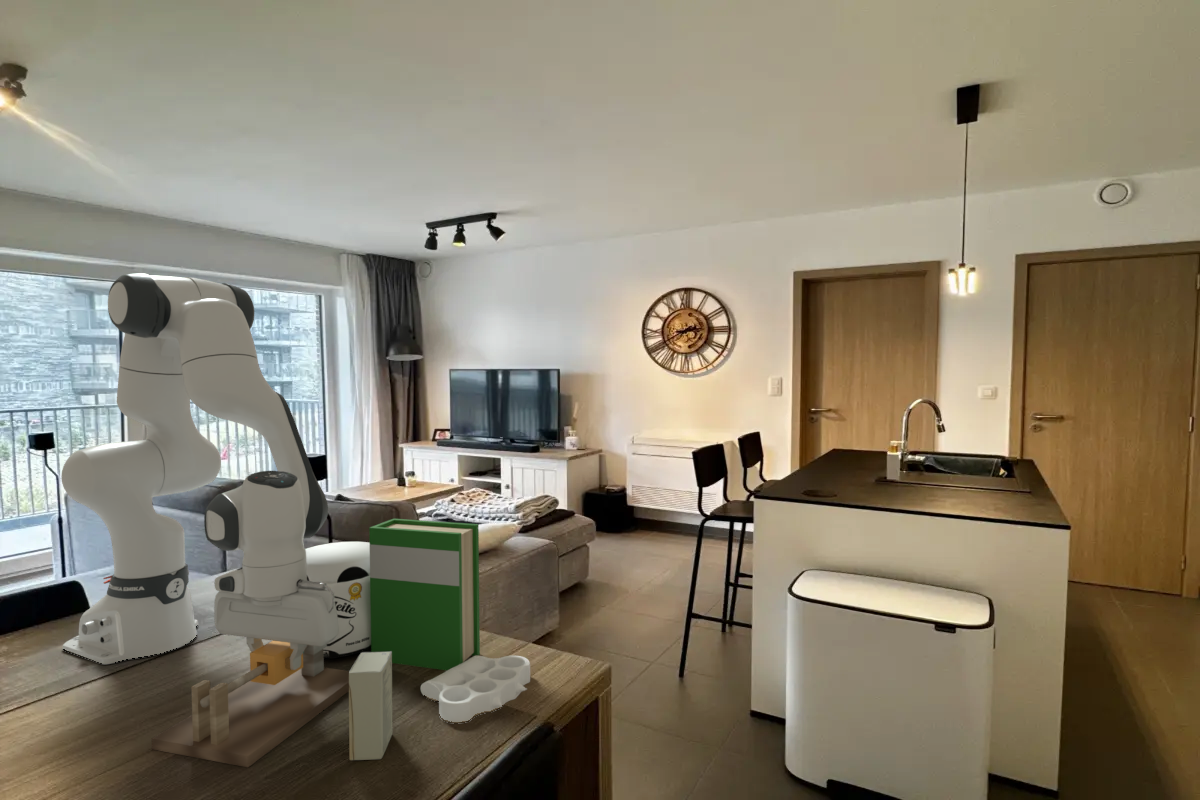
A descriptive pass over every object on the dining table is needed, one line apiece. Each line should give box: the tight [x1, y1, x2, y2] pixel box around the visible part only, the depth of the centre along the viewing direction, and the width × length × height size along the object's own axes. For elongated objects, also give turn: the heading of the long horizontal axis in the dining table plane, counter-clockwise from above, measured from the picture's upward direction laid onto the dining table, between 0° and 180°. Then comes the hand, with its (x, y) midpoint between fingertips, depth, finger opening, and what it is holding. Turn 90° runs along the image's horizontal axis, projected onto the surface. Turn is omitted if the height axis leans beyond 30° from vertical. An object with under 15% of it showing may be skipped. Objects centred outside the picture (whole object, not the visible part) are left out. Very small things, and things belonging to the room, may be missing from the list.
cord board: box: [151, 644, 350, 768], centre depth 96 cm, size 16×24×9 cm, turn 165°
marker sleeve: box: [249, 640, 303, 685], centre depth 98 cm, size 4×6×4 cm
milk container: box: [305, 541, 371, 659], centre depth 120 cm, size 17×17×18 cm
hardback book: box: [368, 518, 481, 671], centre depth 115 cm, size 18×7×24 cm, turn 74°
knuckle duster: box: [420, 655, 531, 722], centre depth 102 cm, size 3×18×15 cm
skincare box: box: [348, 651, 393, 761], centre depth 87 cm, size 6×4×12 cm
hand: (277, 665), depth 98 cm, fingers closed on marker sleeve, 4 cm apart
